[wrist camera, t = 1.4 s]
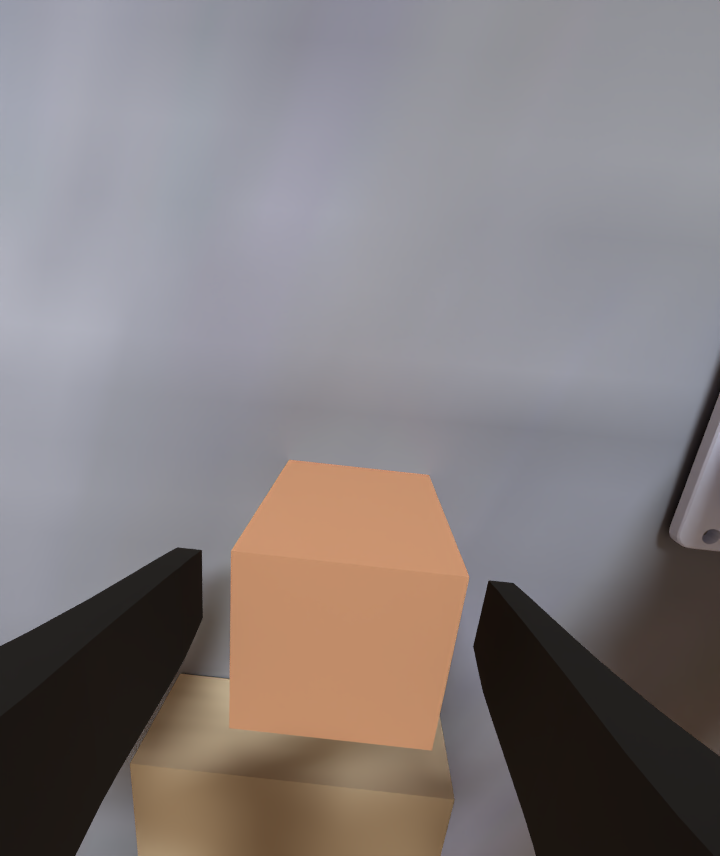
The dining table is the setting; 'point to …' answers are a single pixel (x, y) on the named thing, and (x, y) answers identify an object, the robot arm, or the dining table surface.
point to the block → (345, 607)
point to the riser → (279, 788)
